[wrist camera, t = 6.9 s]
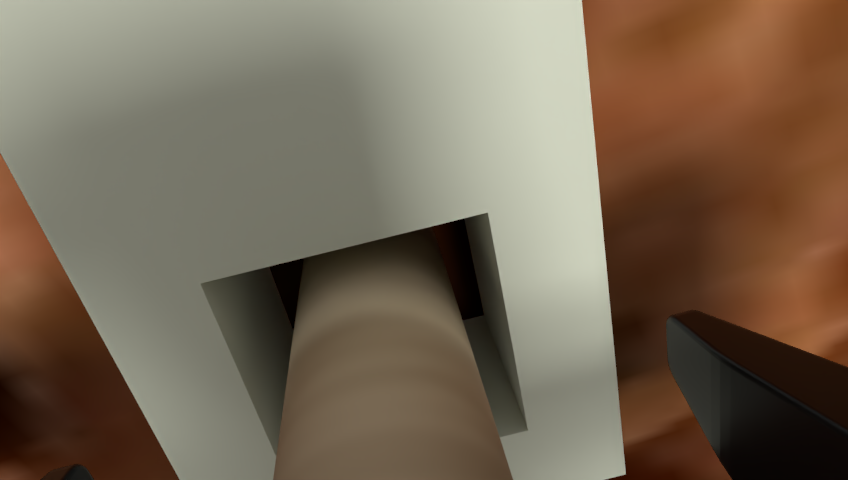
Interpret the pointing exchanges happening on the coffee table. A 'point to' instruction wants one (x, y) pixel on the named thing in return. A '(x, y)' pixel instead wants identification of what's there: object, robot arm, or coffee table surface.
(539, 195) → the hole block
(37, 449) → the coffee table surface
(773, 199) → the coffee table surface
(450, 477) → the beech peg
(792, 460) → the robot arm
